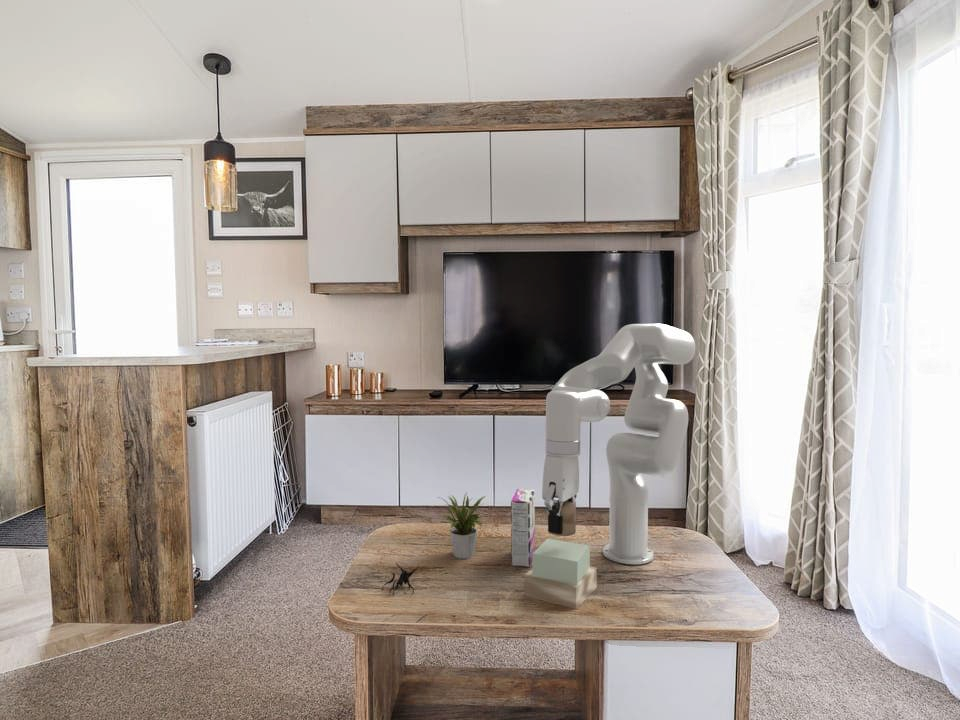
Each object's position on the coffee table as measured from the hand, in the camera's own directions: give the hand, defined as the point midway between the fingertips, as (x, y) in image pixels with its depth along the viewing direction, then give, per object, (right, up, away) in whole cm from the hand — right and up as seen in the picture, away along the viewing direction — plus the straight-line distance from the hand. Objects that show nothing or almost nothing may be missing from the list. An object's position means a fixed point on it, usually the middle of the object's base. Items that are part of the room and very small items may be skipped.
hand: (561, 527), depth 127 cm
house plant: (-23, -14, +22) cm, 35 cm away
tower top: (0, -10, 0) cm, 10 cm away
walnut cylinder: (0, -1, 0) cm, 1 cm away
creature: (-36, -15, +1) cm, 39 cm away
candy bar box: (-7, -14, +19) cm, 25 cm away
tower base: (0, -15, +1) cm, 15 cm away
